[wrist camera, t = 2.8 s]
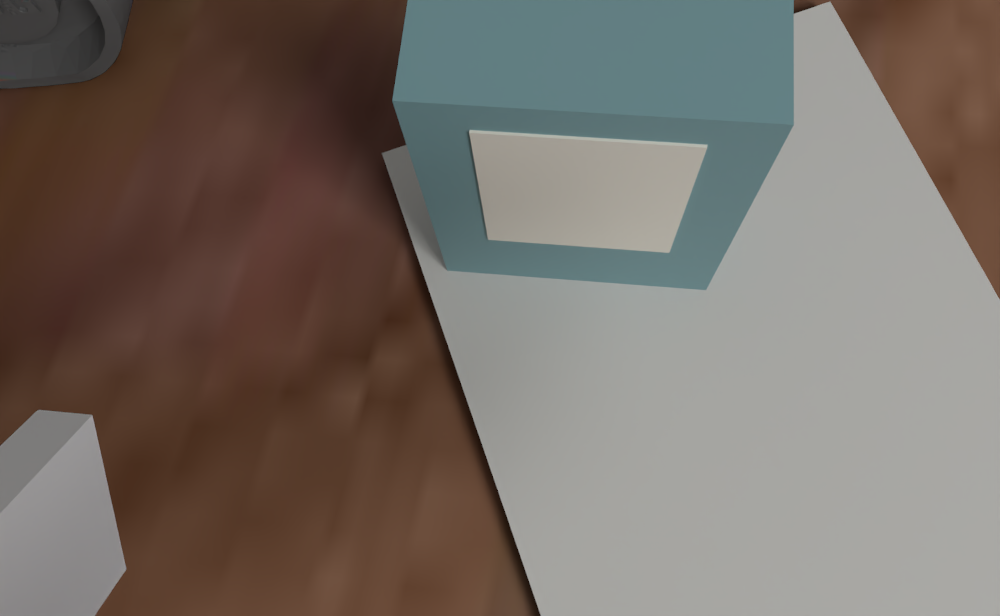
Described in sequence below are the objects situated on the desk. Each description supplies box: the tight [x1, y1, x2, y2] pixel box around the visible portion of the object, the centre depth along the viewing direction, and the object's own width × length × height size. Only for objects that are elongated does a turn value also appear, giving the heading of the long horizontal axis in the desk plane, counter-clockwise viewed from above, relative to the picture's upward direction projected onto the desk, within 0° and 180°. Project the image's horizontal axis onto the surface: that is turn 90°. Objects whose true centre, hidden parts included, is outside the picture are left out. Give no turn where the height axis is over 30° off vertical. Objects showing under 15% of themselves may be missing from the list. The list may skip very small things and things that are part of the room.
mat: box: [382, 2, 1000, 616], centre depth 26 cm, size 22×16×1 cm
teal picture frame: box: [392, 0, 794, 290], centre depth 22 cm, size 8×3×10 cm, turn 84°
